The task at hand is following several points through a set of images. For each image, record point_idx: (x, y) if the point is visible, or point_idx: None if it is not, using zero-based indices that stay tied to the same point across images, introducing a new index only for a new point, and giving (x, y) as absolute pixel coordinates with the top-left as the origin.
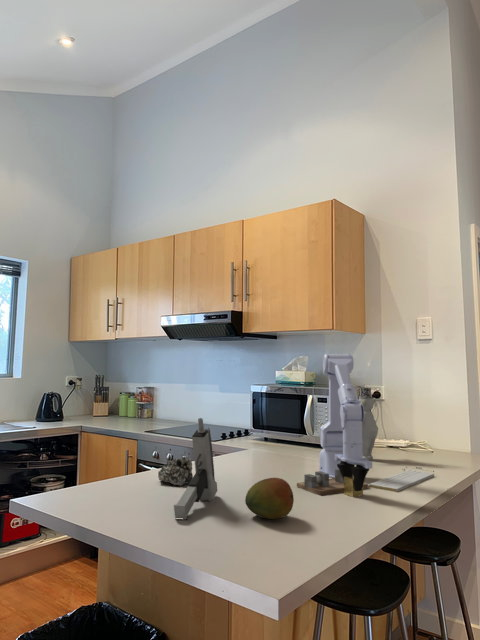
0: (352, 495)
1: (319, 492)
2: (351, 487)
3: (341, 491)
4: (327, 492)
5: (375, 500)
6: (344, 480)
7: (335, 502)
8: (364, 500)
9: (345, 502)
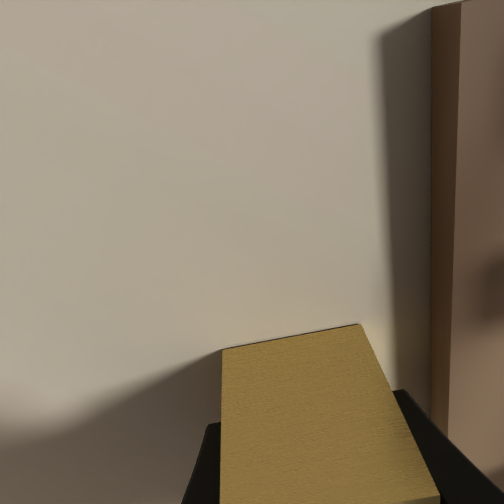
0: (227, 357)
1: (463, 1)
2: (245, 419)
3: (433, 335)
4: (441, 151)
5: (71, 457)
6: (398, 449)
7: (23, 46)
8: (82, 387)
9: (16, 179)
